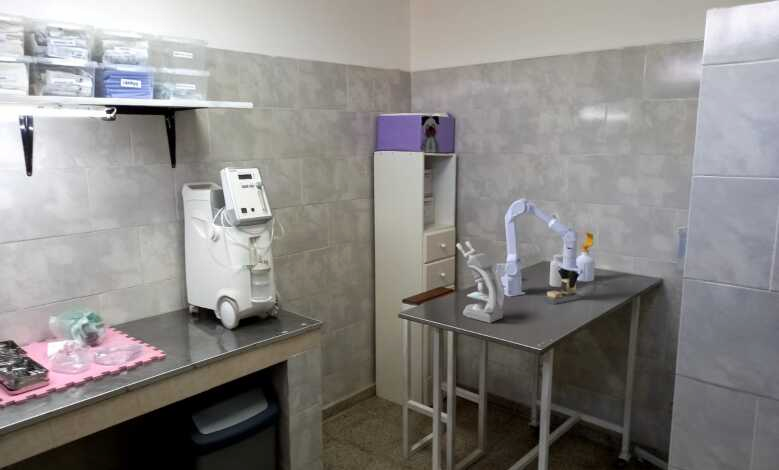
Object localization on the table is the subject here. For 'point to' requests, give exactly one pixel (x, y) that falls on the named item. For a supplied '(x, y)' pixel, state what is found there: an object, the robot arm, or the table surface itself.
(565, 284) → the tan wooden block
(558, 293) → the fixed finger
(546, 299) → the grey rectangular tray
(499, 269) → the medicine box
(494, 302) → the microscope
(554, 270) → the pill bottle
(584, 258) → the soap bottle
